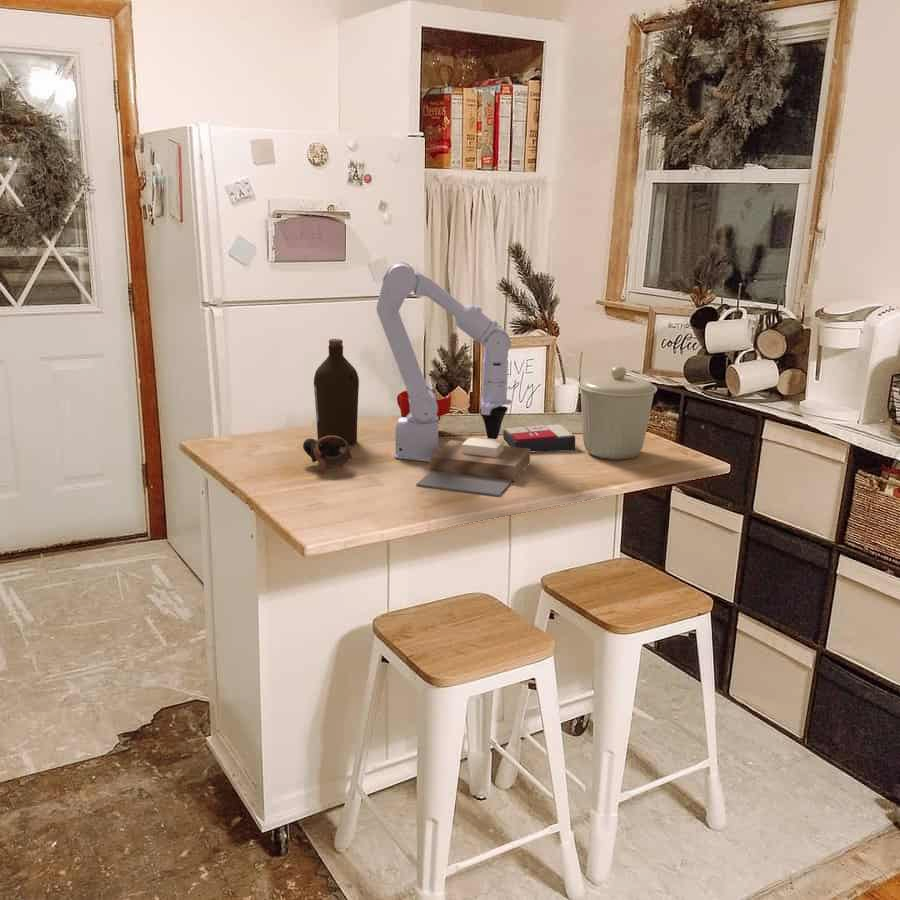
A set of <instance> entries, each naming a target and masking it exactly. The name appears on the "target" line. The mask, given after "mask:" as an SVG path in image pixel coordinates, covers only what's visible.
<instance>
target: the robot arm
mask: <svg viewBox="0 0 900 900" xmlns="http://www.w3.org/2000/svg"><path fill="white" fill-rule="evenodd" d="M415 272H416V273H415ZM412 292H413V295H414V296H422V297H427V298H429V299H430V300H431V301H433V302H434V303H436V304H437V305H438V306H440V307H441V308H442V309H443V310H445V312H448V313H449V314H450V315H452V316H453V317H454V320H455V326H456V327H457V328H459V329H460V330H462V332H464V333H465V334H466V335H468V336H469V337H470V338H471V339H472V340H474V341H475V342H477V343H481V344H482V346H483V347H484V348H483V360H482V371H481V372H482V373H481V374H482V375H481V377H482V378H481V398H480V409H479V414H480V416H481V417H482V420H483V424H484V426H485V431H486V436H487V437H486V438H487V439H488V440H497V439H498V437H499V435H500V431H501V426H502V423H503V419H504V418H505V414H506V413H507V411H508V406H506V405H511V404H512V403H513V402H512V399H508V398H507V397H508V396H507V395H508V378H509V377H508V375H509V373H508V372H509V360H508V358H509V350H510V349H511V346H512V342H511V338H510V336H509V334H508V333H507V332H506V330H505V329H504V328H503V327H502V326H500V325H499V323H498V322H497V321H496V320H492V319H490V318H489V317H488V316H487V315H485V314H484V313H483V312H482V311H483V309H482V308H481V307H480V306H478V305H476V306H474V305H473V304H467V305H466V304H465V305H463V304H462V303H461V302H459V301H458V300H457V298H454V297H453V295H451V294H450V293H449V292H448V291H446V289H444V288H443V287H442V286H440V285H439V284H438V283H437V282H436V281H434V279H432V278H431V277H429V276H427V275H426V274H424V273H423V272H421V271H420V270H418V269H415V270H414V268H413V267H412V266H411V264H408V263H407V262H404V261H398V262H395V263H393V264H392V265H390V266H389V268H388V270H387V271H386V273H385V274H384V276H383V278H382V283H381V286H380V290H379V295H378V299H377V303H376V313H377V316H378V318H379V321H380V323H381V326H382V328H383V331H384V334H385V336H386V338H387V339H386V340H387V341H388V344H389V346H390V349H391V352H392V354H393V357H394V360H395V362H396V364H397V367H398V371H399V373H400V375H401V378H402V381H403V383H404V385H405V391H407V393H408V396H409V404H410V413H409V415H407V417H402V416H401V417H399V418H398V421H397V422H396V426H395V455H394V458H395V459H401V460H409V461H411V460H412V461H419V462H427V463H428V462H429V463H430V456H432V455H433V454H434V453H435V452H437V451H438V450H439V432H438V419H439V417H438V416H437V415H436V414H437V412H438V405H437V402H436V397H435V394H434V392H433V391H432V390H431V389H432V388H430V387H429V386H428V384H427V382H426V379H425V377H424V374H423V372H422V370H421V366H420V365H419V362H418V359H417V355H416V354H415V351H414V349H413V345H412V343H411V340H410V337H409V335H408V331H407V330H406V328H405V325H404V322H403V319H402V317H401V314H400V309H401V307H402V305H403V303H404V302H405V299H407V297H408V296H409V295H410V294H411V293H412Z"/></svg>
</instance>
